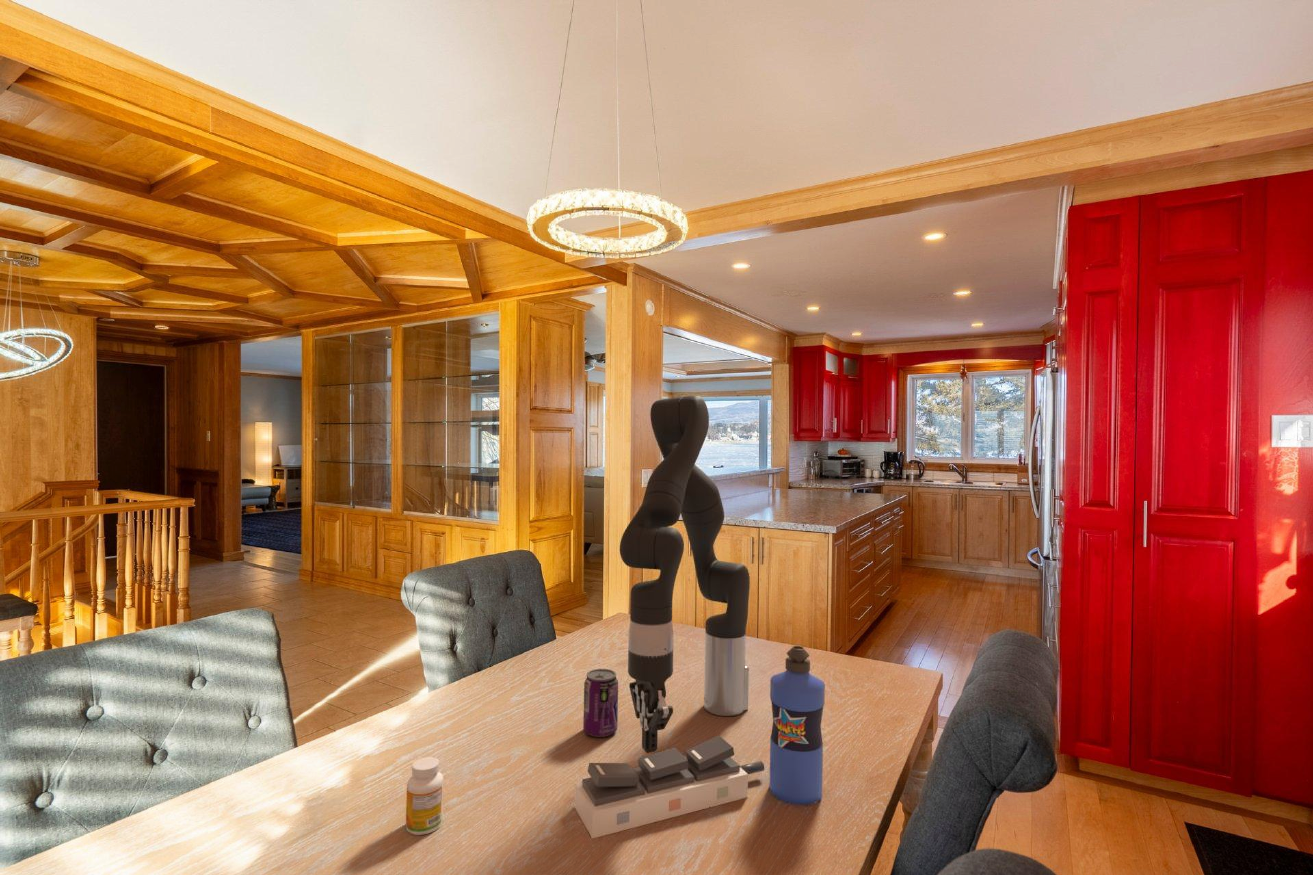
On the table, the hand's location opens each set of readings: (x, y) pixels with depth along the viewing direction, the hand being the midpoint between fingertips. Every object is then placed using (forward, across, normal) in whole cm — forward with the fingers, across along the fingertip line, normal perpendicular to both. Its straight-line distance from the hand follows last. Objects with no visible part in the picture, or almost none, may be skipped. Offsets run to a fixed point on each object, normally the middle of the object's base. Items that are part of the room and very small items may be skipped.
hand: (649, 750), depth 104 cm
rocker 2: (+3, 0, -3) cm, 4 cm away
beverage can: (+10, +28, -2) cm, 30 cm away
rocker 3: (+3, 0, -12) cm, 12 cm away
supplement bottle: (+9, +9, +34) cm, 37 cm away
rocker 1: (+3, 0, +6) cm, 7 cm away
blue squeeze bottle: (+10, -6, -26) cm, 28 cm away
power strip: (+9, 0, -5) cm, 11 cm away
